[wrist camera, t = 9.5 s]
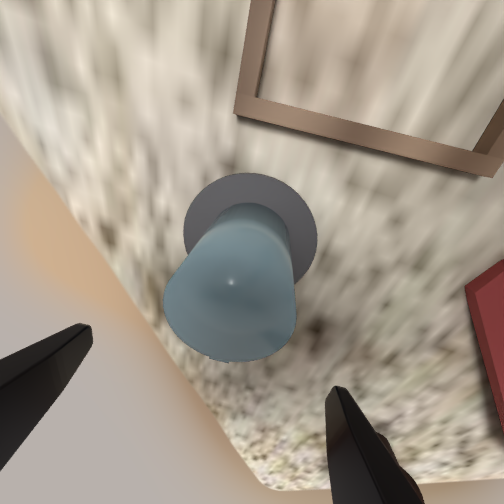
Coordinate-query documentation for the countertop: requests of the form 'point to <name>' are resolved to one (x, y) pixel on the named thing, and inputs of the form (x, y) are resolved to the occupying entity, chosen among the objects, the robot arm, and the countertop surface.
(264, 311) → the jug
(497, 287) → the carton
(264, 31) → the brown wooden frame
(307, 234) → the coaster
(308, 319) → the countertop surface
